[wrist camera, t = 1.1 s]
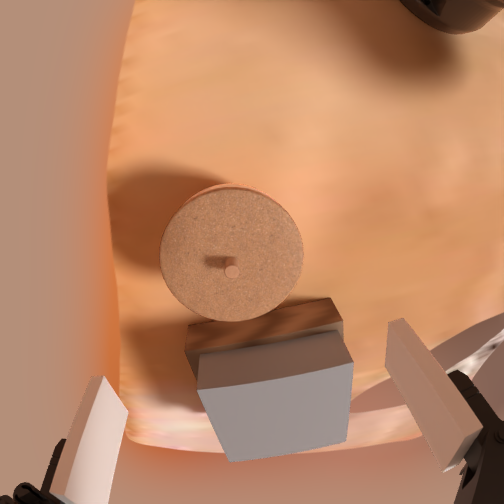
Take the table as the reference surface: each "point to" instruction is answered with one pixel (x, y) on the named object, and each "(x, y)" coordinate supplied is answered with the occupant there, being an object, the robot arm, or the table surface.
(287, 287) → the lidded jar
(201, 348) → the tower base
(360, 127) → the table surface
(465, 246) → the table surface
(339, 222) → the table surface
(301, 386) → the grey square slab
